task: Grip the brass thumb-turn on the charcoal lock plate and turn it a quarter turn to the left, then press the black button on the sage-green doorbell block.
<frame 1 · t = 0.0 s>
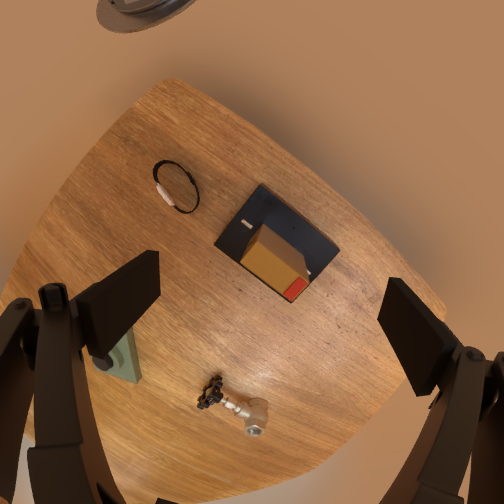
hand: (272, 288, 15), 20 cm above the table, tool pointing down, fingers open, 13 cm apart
lock knob: (276, 258, 28), point 7 cm above the table, hinge at 0.0°
bell button: (102, 360, 39), point 4 cm above the table, slide at 0.1 cm
valve: (240, 393, 43), on the table
watch: (181, 185, 34), on the table
doorbell: (114, 346, 43), on the table
lock plate: (277, 240, 34), on the table
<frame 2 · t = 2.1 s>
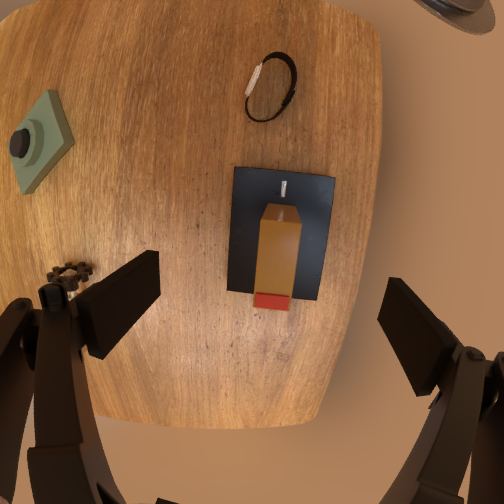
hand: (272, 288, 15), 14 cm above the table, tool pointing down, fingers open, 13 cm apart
lock knob: (277, 250, 21), point 7 cm above the table, hinge at 0.0°
bell button: (19, 143, 23), point 4 cm above the table, slide at 0.1 cm
valve: (91, 300, 34), on the table
watch: (271, 91, 24), on the table
doorbell: (41, 142, 27), on the table
lock plate: (279, 229, 28), on the table
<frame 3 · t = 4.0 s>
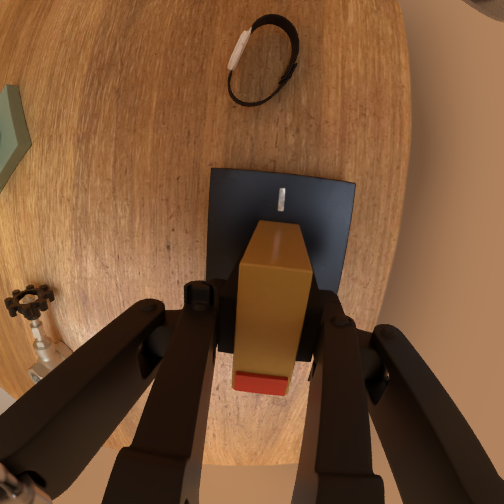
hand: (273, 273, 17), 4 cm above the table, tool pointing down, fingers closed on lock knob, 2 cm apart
lock knob: (271, 296, 14), point 7 cm above the table, hinge at 0.0°, touching gripper
valve: (58, 327, 26), on the table
watch: (264, 66, 17), on the table
doorbell: (2, 145, 20), on the table
lock plate: (275, 253, 20), on the table
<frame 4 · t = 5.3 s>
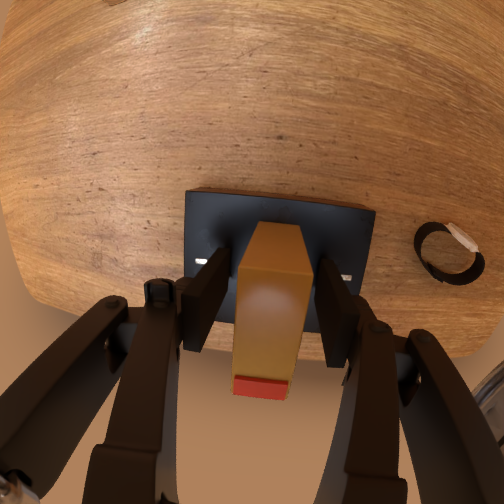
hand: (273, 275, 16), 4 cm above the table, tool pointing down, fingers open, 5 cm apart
lock knob: (271, 298, 13), point 7 cm above the table, hinge at 90.0°
watch: (442, 249, 19), on the table
lock plate: (275, 254, 20), on the table
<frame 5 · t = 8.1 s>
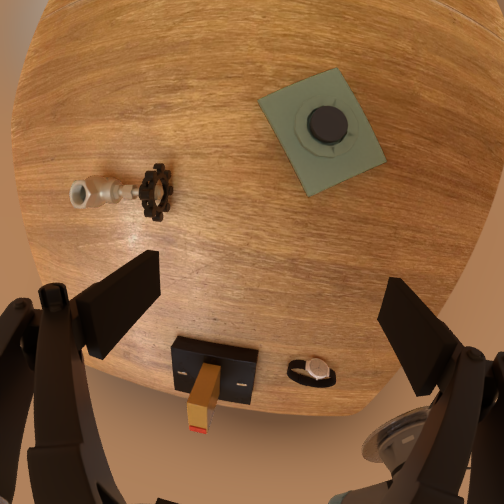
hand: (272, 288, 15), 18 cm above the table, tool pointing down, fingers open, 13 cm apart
lock knob: (204, 398, 32), point 7 cm above the table, hinge at 90.0°
bell button: (328, 124, 24), point 4 cm above the table, slide at 0.1 cm
valve: (132, 189, 32), on the table
watch: (311, 367, 37), on the table
doorbell: (322, 131, 28), on the table
lock plate: (216, 366, 39), on the table
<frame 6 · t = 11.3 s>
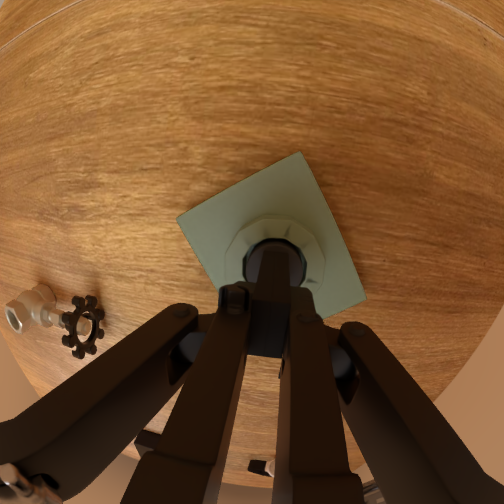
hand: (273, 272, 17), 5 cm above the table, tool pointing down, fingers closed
bell button: (274, 267, 18), point 4 cm above the table, slide at -0.7 cm, touching gripper
valve: (68, 302, 26), on the table
watch: (274, 461, 31), on the table
doorbell: (275, 251, 21), on the table
lock plate: (181, 453, 32), on the table
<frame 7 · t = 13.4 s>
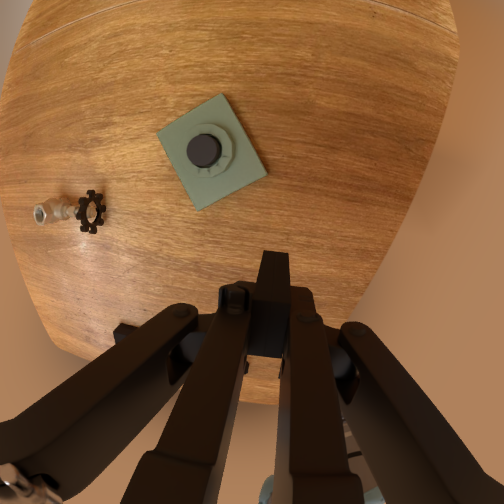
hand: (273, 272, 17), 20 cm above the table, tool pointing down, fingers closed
bell button: (203, 150, 29), point 4 cm above the table, slide at 0.1 cm
valve: (80, 207, 38), on the table
doorbell: (212, 152, 34), on the table
lock plate: (151, 349, 45), on the table
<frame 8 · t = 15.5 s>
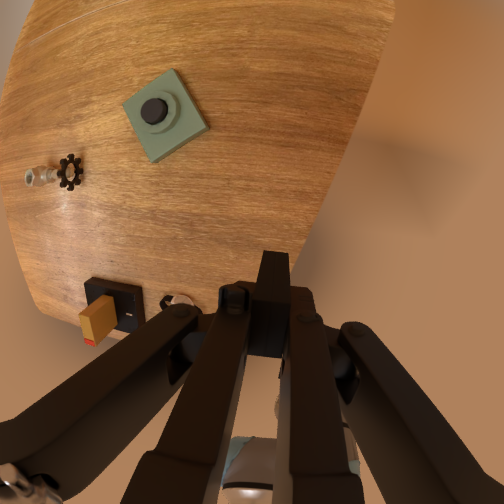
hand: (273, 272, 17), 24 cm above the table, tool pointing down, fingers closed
lock knob: (98, 320, 41), point 7 cm above the table, hinge at 90.0°
bell button: (153, 110, 33), point 4 cm above the table, slide at 0.1 cm
valve: (63, 173, 42), on the table
watch: (184, 305, 47), on the table
doorbell: (166, 115, 37), on the table
lock plate: (118, 302, 48), on the table
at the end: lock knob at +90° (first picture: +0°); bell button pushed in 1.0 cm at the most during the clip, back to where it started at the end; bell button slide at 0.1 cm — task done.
